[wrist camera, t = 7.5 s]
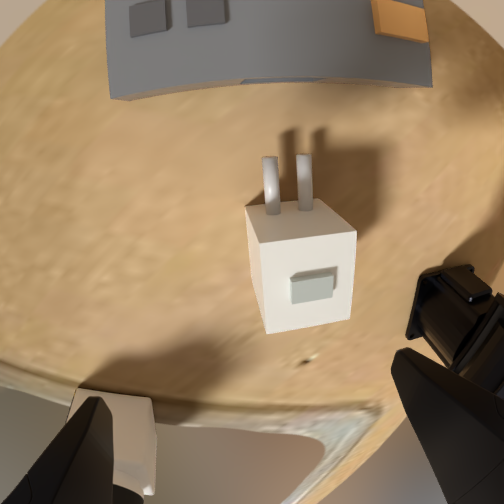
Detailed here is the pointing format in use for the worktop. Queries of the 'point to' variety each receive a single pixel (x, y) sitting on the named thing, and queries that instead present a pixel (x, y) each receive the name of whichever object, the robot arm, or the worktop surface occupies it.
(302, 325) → the charger
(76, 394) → the medicine bottle
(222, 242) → the worktop surface
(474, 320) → the robot arm
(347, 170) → the worktop surface
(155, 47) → the power strip
